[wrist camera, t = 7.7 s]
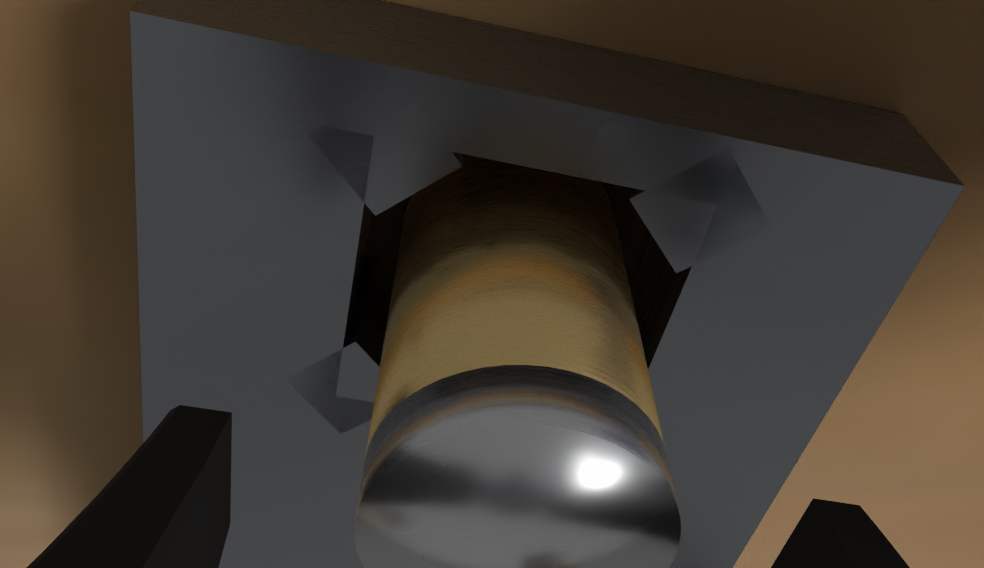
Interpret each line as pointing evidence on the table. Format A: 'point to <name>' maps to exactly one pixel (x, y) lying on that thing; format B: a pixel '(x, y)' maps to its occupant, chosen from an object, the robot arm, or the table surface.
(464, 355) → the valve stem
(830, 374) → the block
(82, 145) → the table surface
